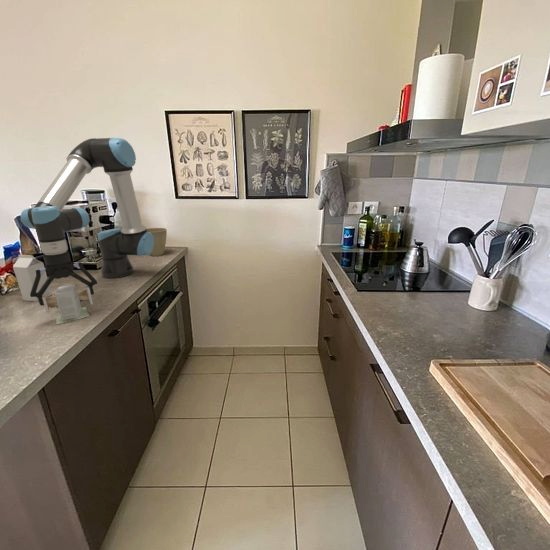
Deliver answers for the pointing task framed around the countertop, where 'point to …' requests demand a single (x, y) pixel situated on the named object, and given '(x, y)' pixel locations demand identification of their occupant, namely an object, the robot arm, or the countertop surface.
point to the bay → (52, 302)
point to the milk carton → (29, 276)
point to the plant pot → (158, 240)
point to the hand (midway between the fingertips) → (70, 307)
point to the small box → (68, 302)
